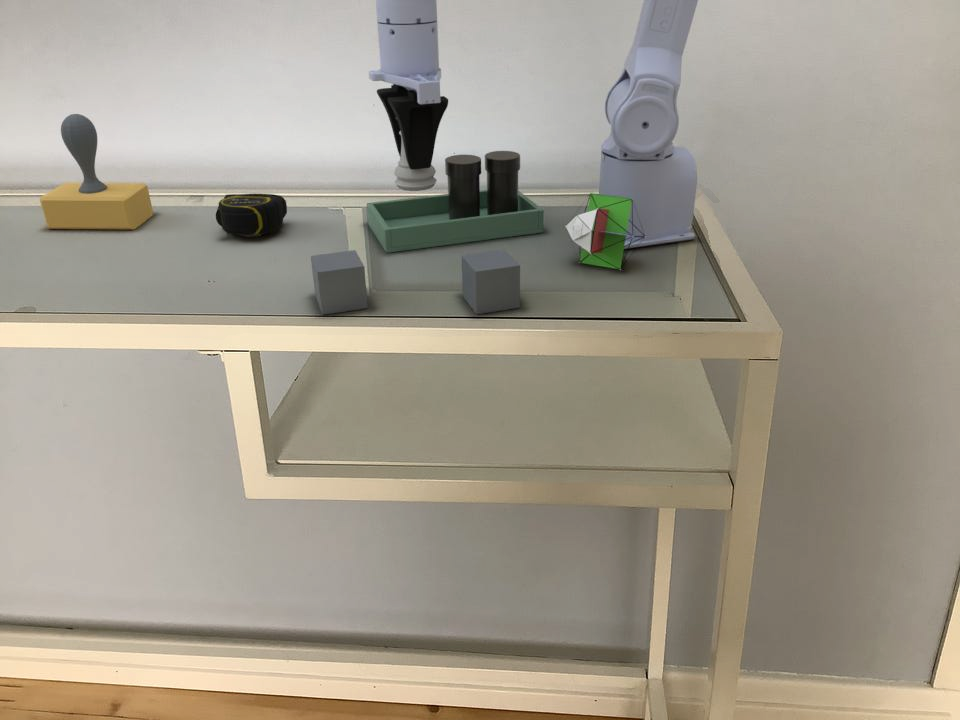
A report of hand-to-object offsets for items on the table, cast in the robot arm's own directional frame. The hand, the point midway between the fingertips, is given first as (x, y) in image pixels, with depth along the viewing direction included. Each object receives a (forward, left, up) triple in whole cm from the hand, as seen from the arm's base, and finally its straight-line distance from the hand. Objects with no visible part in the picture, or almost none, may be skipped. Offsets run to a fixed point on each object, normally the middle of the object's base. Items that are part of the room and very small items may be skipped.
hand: (415, 163), depth 84 cm
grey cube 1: (+11, +15, -8) cm, 20 cm away
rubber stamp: (+33, -16, -8) cm, 38 cm away
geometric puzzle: (-15, +15, -8) cm, 22 cm away
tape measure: (+17, -7, -8) cm, 20 cm away
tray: (-4, 0, -8) cm, 9 cm away
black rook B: (-5, 0, -7) cm, 9 cm away
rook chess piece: (0, 0, -3) cm, 3 cm away
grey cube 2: (-2, +20, -8) cm, 21 cm away
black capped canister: (-10, 0, -7) cm, 12 cm away
